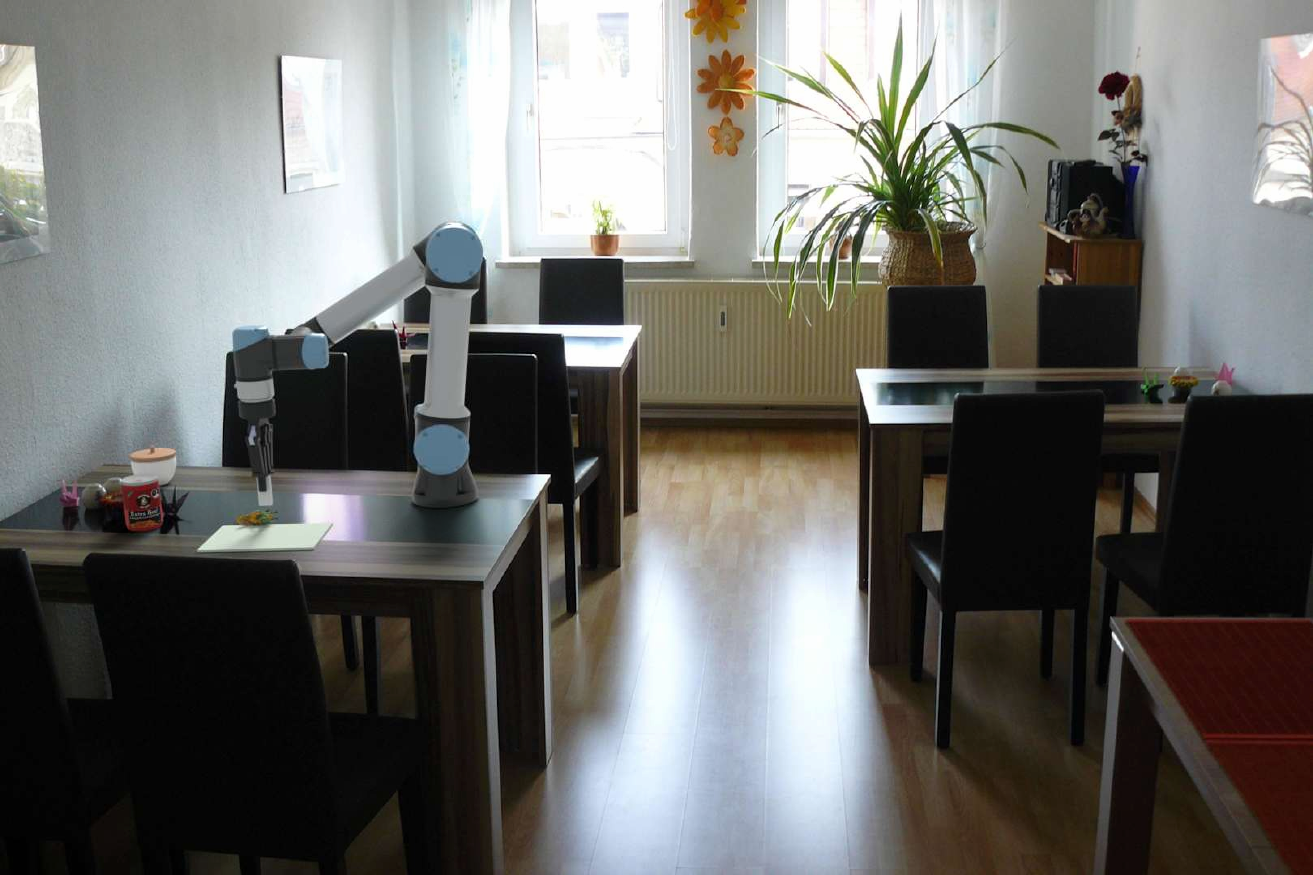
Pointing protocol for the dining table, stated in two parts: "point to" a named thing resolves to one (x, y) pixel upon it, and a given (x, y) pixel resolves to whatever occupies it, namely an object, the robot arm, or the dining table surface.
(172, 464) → the lidded jar
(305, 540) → the mat
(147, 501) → the canned food
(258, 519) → the figurine
